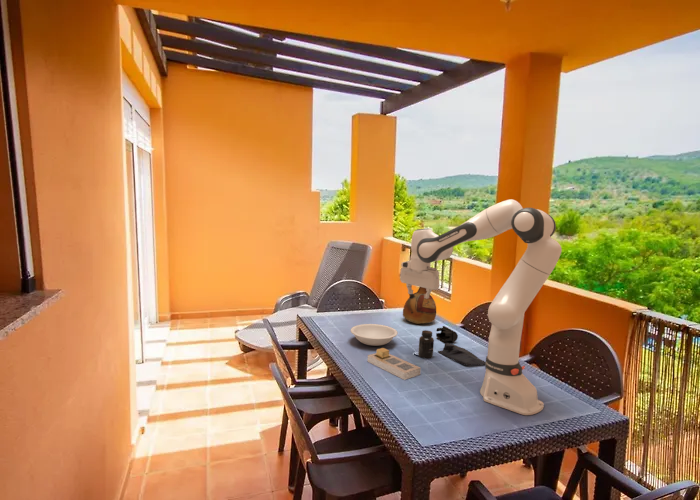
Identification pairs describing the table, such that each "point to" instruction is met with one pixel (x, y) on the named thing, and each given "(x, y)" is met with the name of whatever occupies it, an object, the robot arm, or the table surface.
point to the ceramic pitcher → (419, 308)
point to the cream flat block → (395, 366)
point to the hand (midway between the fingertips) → (418, 296)
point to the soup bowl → (373, 334)
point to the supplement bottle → (426, 345)
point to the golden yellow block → (382, 353)
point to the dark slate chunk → (461, 355)
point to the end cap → (446, 335)
